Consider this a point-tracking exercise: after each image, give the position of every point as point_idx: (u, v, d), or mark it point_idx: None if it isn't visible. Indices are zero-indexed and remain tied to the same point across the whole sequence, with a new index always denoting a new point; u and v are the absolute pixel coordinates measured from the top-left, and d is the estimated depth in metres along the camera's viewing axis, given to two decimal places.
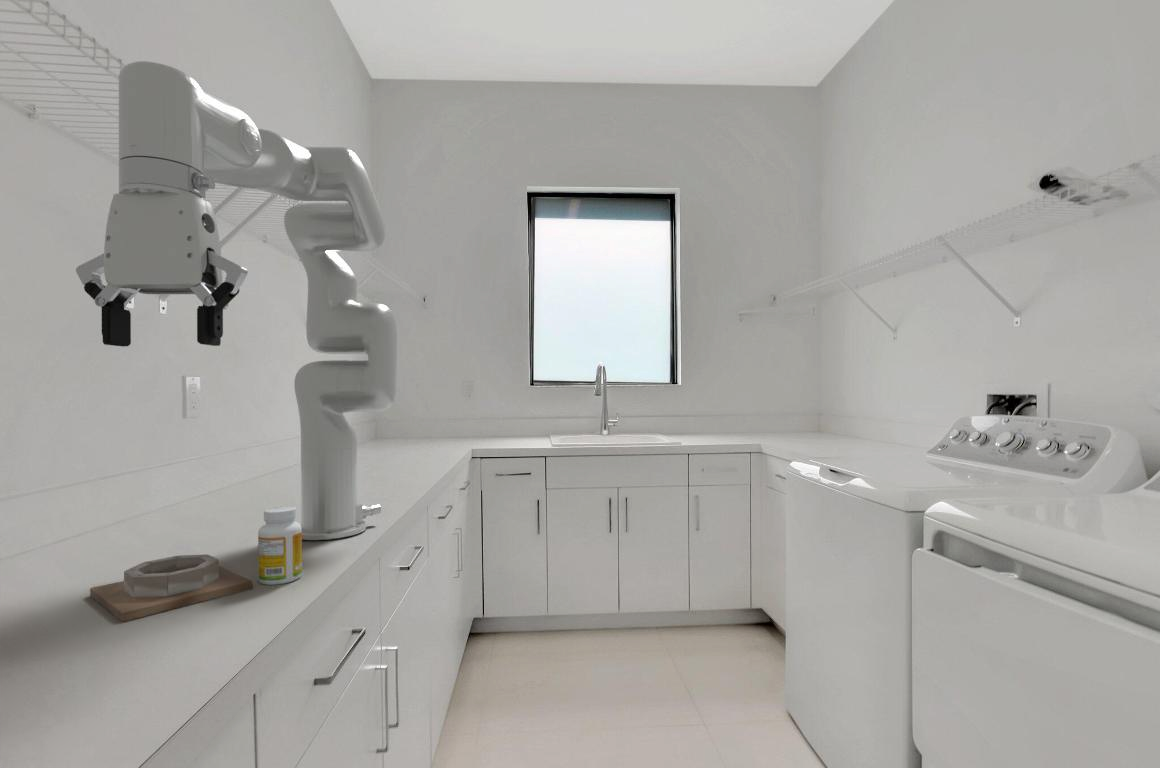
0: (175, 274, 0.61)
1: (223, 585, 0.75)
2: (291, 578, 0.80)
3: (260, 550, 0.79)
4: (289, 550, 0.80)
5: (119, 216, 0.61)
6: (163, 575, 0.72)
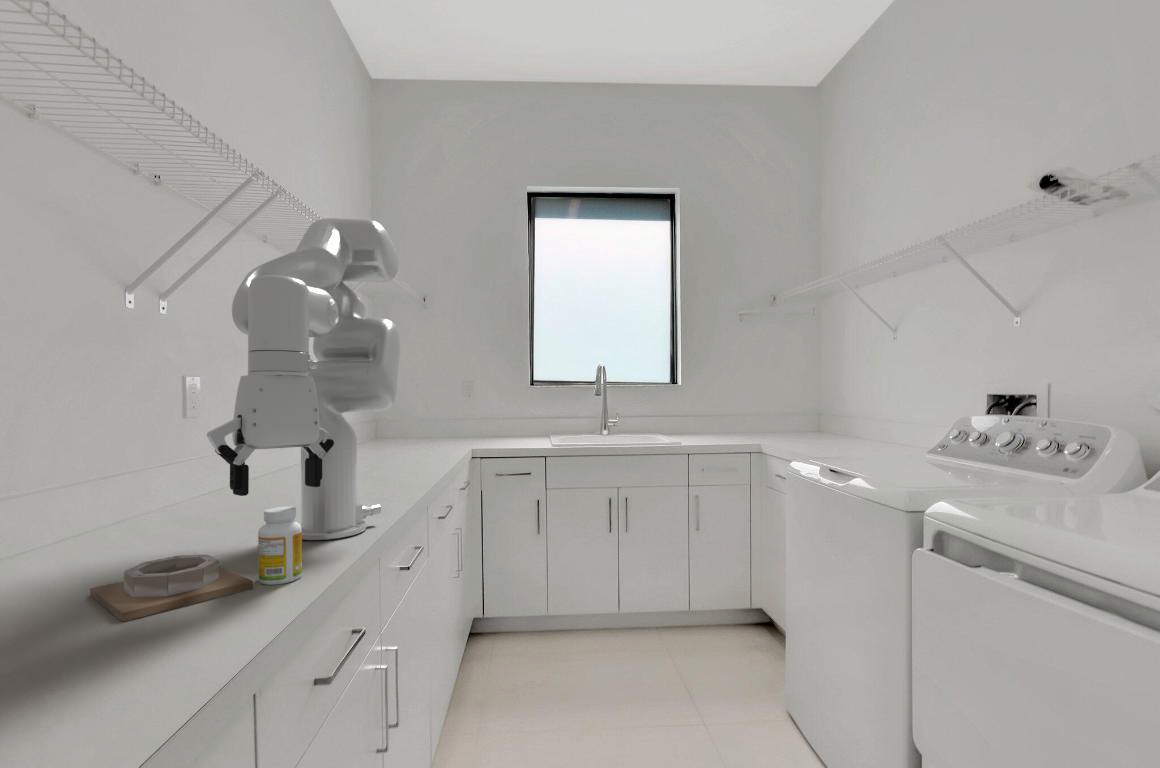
0: (305, 437, 0.82)
1: (223, 585, 0.75)
2: (291, 578, 0.80)
3: (260, 550, 0.79)
4: (289, 550, 0.80)
5: (264, 393, 0.77)
6: (163, 575, 0.72)
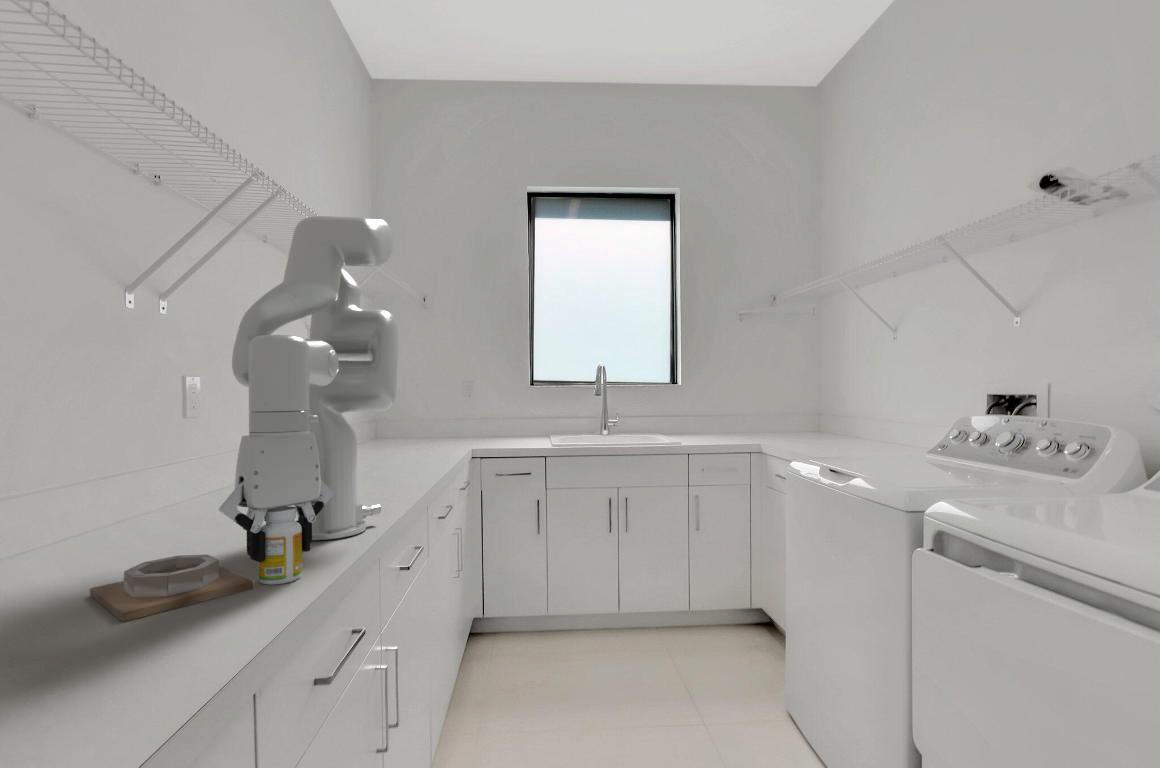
0: (306, 494, 0.82)
1: (223, 585, 0.75)
2: (291, 578, 0.80)
3: None
4: (289, 550, 0.80)
5: (266, 455, 0.78)
6: (163, 575, 0.72)
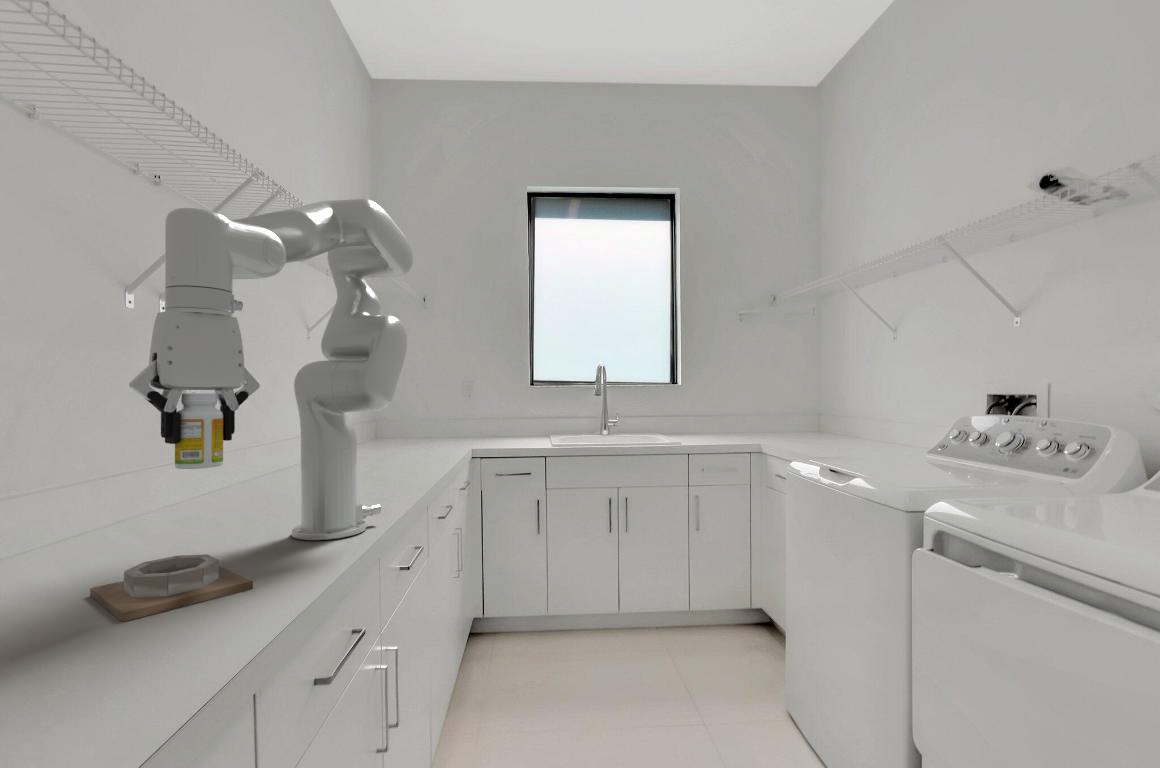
0: (227, 379, 0.78)
1: (223, 585, 0.75)
2: (210, 464, 0.76)
3: None
4: (207, 434, 0.76)
5: (181, 331, 0.74)
6: (163, 575, 0.72)
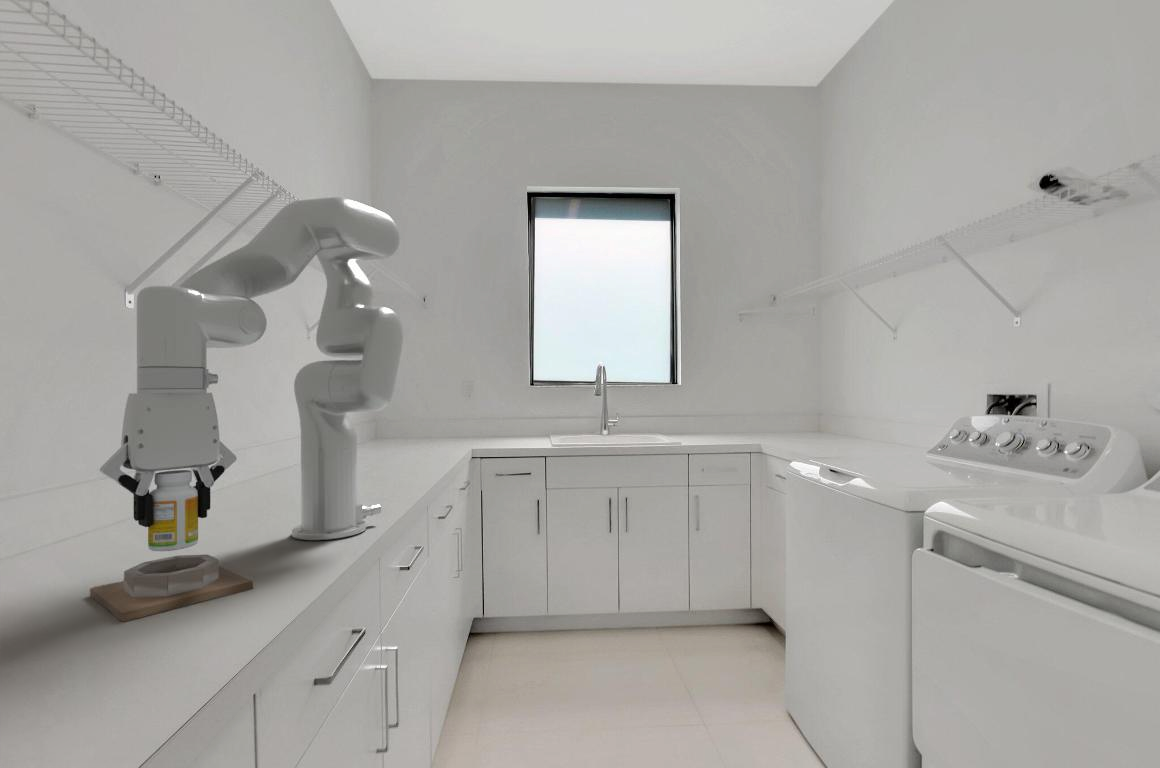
0: (202, 456, 0.77)
1: (223, 585, 0.75)
2: (183, 545, 0.75)
3: None
4: (180, 515, 0.75)
5: (153, 413, 0.73)
6: (163, 575, 0.72)
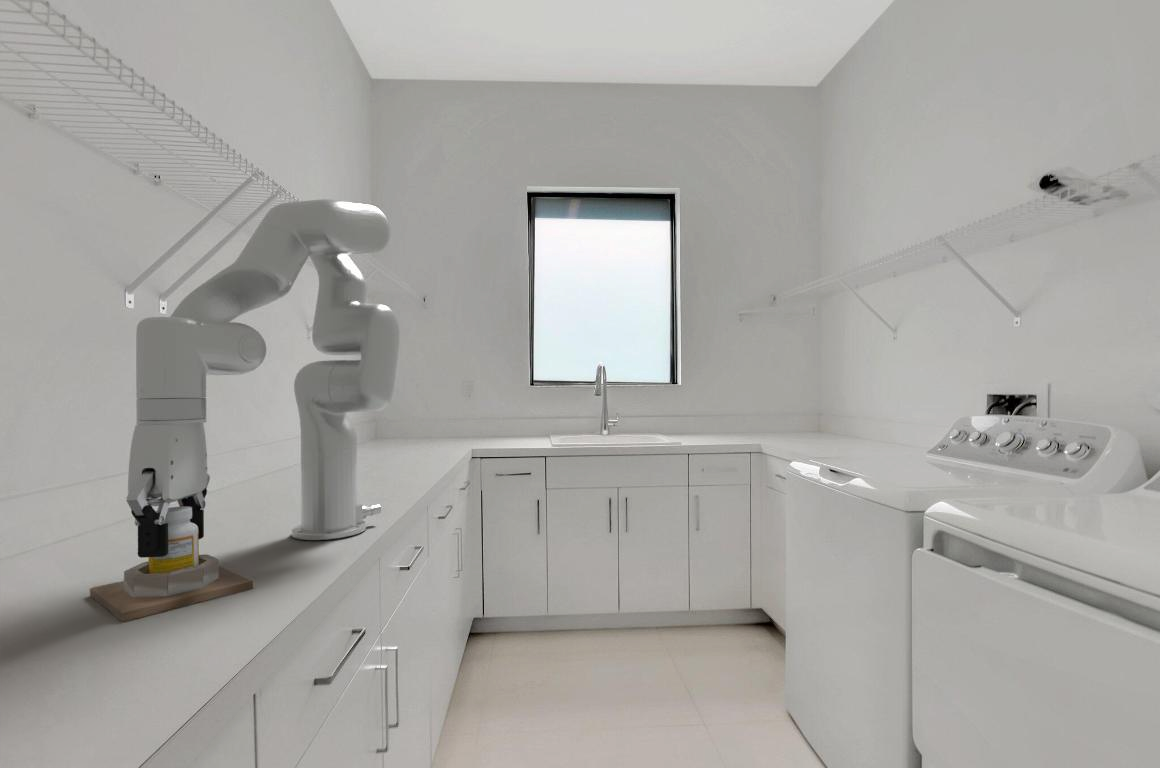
0: (200, 484, 0.79)
1: (223, 585, 0.75)
2: None
3: None
4: (195, 549, 0.77)
5: (179, 443, 0.74)
6: (163, 575, 0.72)
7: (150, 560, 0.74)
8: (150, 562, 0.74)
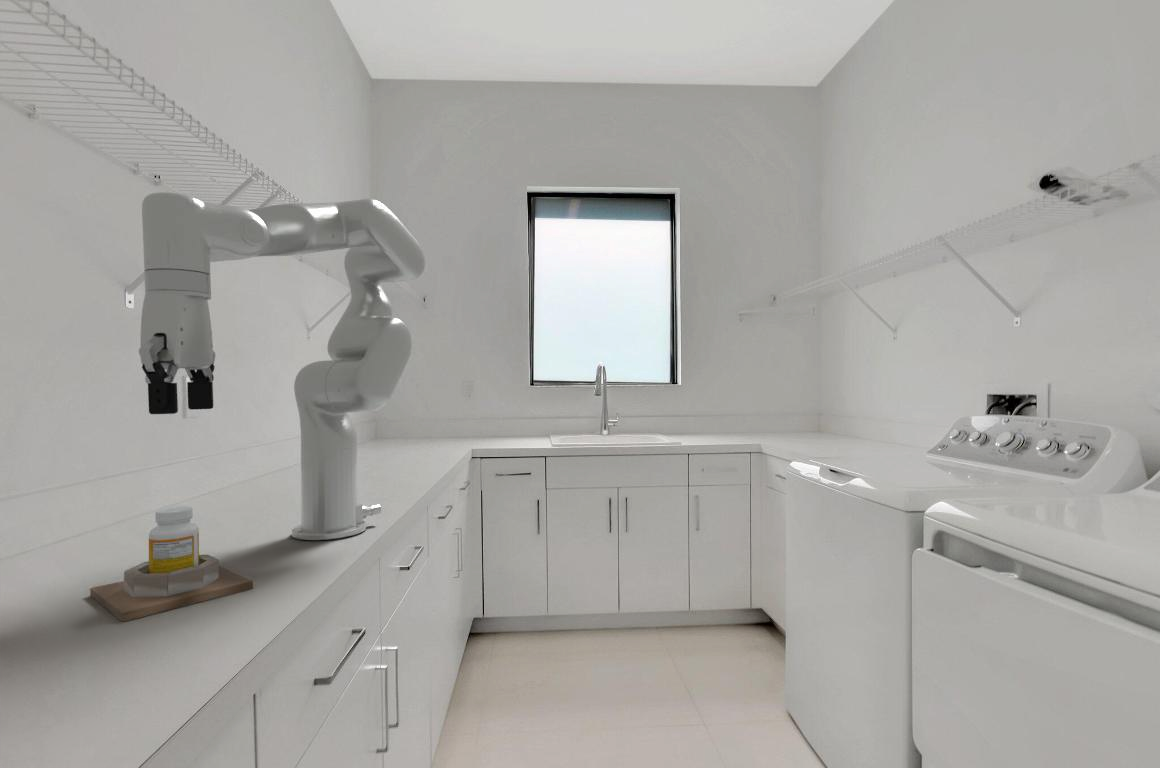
0: (207, 359, 0.84)
1: (223, 585, 0.75)
2: None
3: (162, 554, 0.74)
4: (196, 549, 0.77)
5: (187, 313, 0.78)
6: (163, 575, 0.72)
7: (150, 560, 0.74)
8: (150, 562, 0.74)
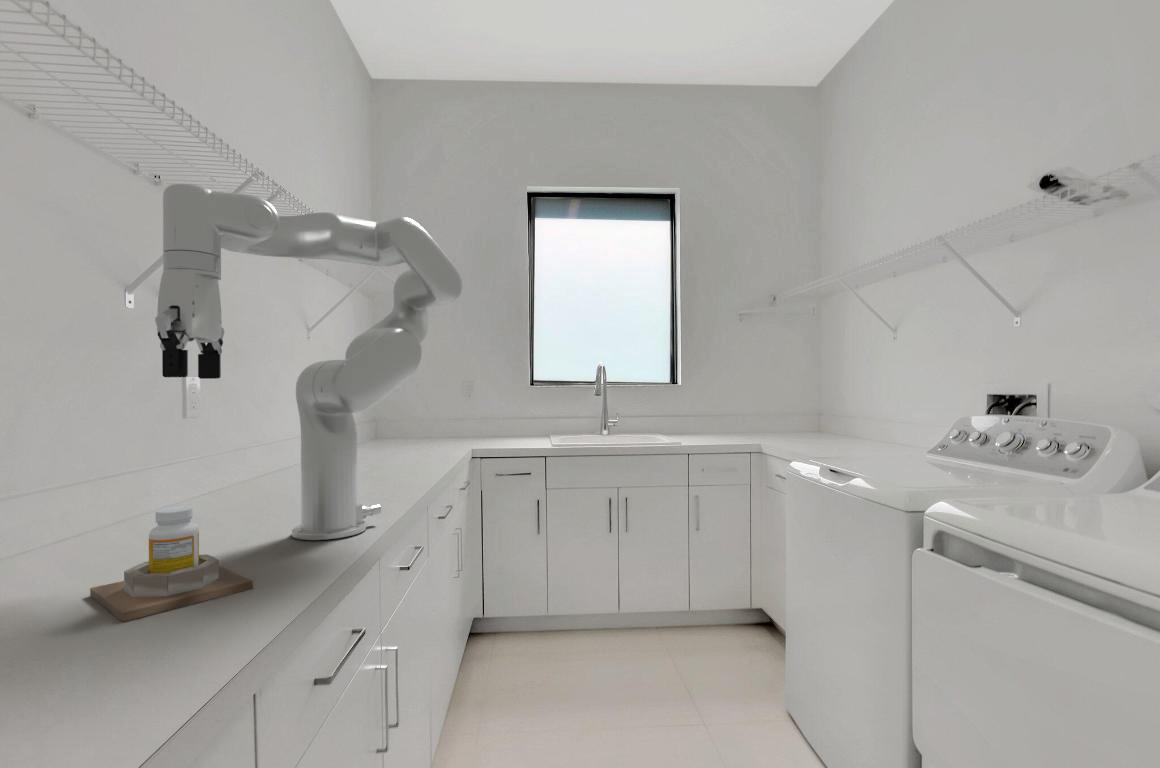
0: (216, 333, 0.94)
1: (223, 585, 0.75)
2: None
3: (162, 554, 0.74)
4: (196, 549, 0.77)
5: (198, 289, 0.88)
6: (163, 575, 0.72)
7: (150, 560, 0.74)
8: (150, 562, 0.74)
